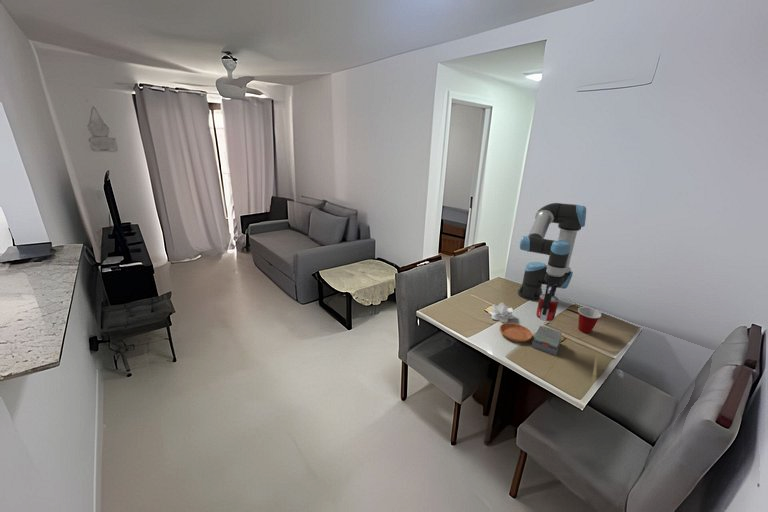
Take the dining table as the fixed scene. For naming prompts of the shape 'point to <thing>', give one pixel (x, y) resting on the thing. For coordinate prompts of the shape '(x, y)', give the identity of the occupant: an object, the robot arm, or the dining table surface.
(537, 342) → the stand
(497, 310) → the lotus flower
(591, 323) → the plastic cup
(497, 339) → the dining table surface
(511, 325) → the saucer
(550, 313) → the canned food
